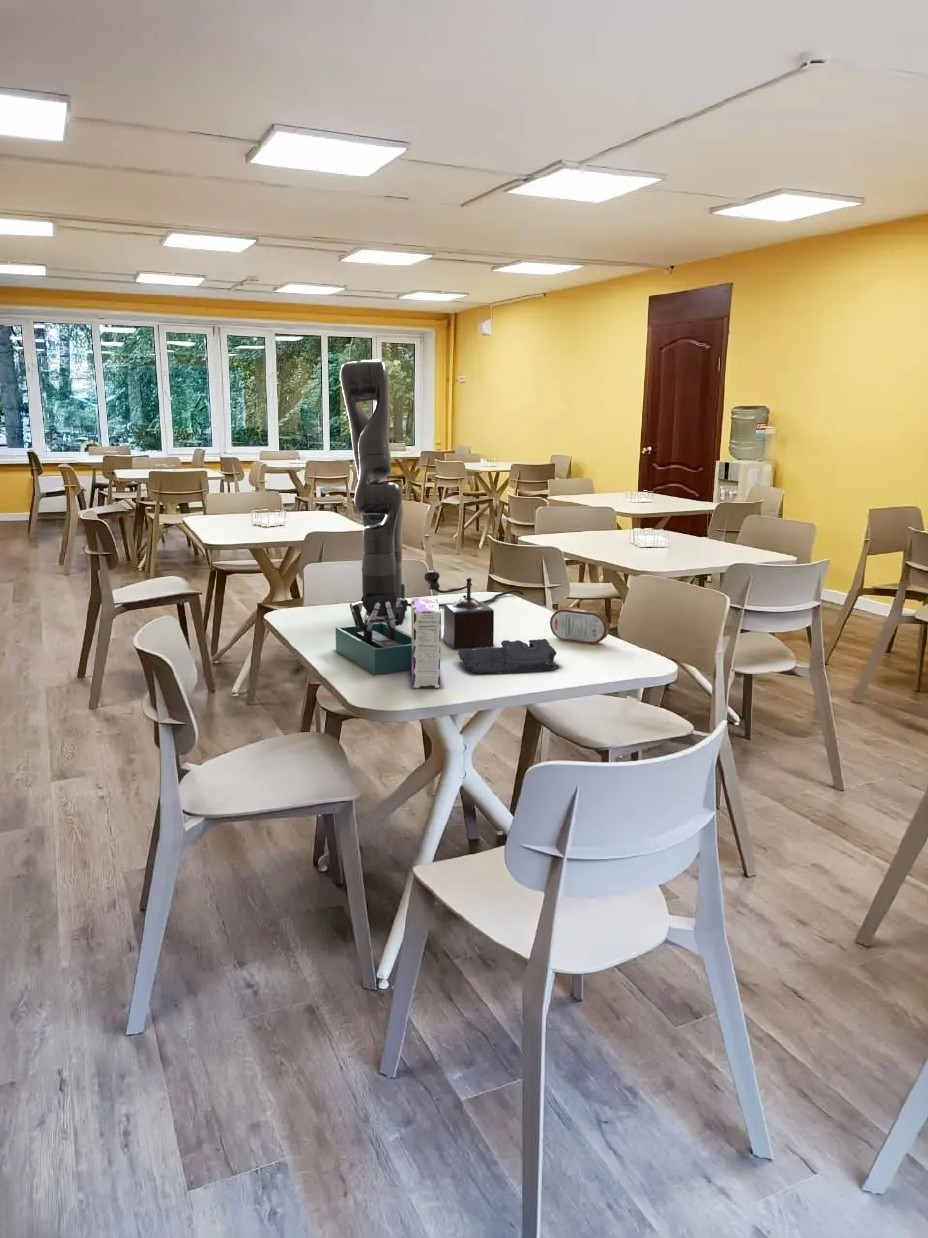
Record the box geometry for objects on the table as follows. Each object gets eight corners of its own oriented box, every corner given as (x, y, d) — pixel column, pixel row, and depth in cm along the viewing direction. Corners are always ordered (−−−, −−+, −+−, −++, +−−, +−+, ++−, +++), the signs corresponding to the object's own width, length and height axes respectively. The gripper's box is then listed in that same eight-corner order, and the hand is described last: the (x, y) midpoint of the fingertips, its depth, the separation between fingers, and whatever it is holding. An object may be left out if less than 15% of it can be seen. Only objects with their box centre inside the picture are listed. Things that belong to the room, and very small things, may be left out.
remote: (374, 639, 212) (373, 629, 211) (403, 655, 198) (403, 644, 198) (356, 641, 210) (356, 631, 209) (385, 657, 196) (385, 646, 196)
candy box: (410, 669, 196) (410, 596, 192) (437, 669, 196) (437, 596, 193) (412, 688, 183) (412, 610, 179) (440, 688, 183) (441, 610, 179)
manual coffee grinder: (481, 636, 226) (482, 566, 222) (494, 647, 216) (496, 574, 212) (422, 639, 222) (422, 568, 218) (432, 650, 212) (433, 576, 208)
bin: (384, 644, 217) (383, 622, 216) (426, 667, 198) (426, 643, 197) (335, 650, 211) (335, 627, 210) (374, 674, 192) (374, 649, 191)
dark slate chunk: (452, 657, 207) (452, 637, 205) (541, 652, 212) (542, 633, 211) (468, 675, 192) (469, 654, 191) (564, 670, 197) (565, 649, 196)
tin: (609, 643, 221) (610, 610, 219) (605, 646, 218) (607, 613, 216) (552, 636, 227) (553, 604, 225) (547, 639, 224) (549, 606, 222)
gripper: (356, 576, 193) (357, 652, 197) (414, 571, 200) (414, 645, 204) (343, 571, 200) (344, 644, 204) (400, 566, 207) (400, 638, 210)
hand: (379, 644), depth 204 cm, fingers closed on remote, 4 cm apart
